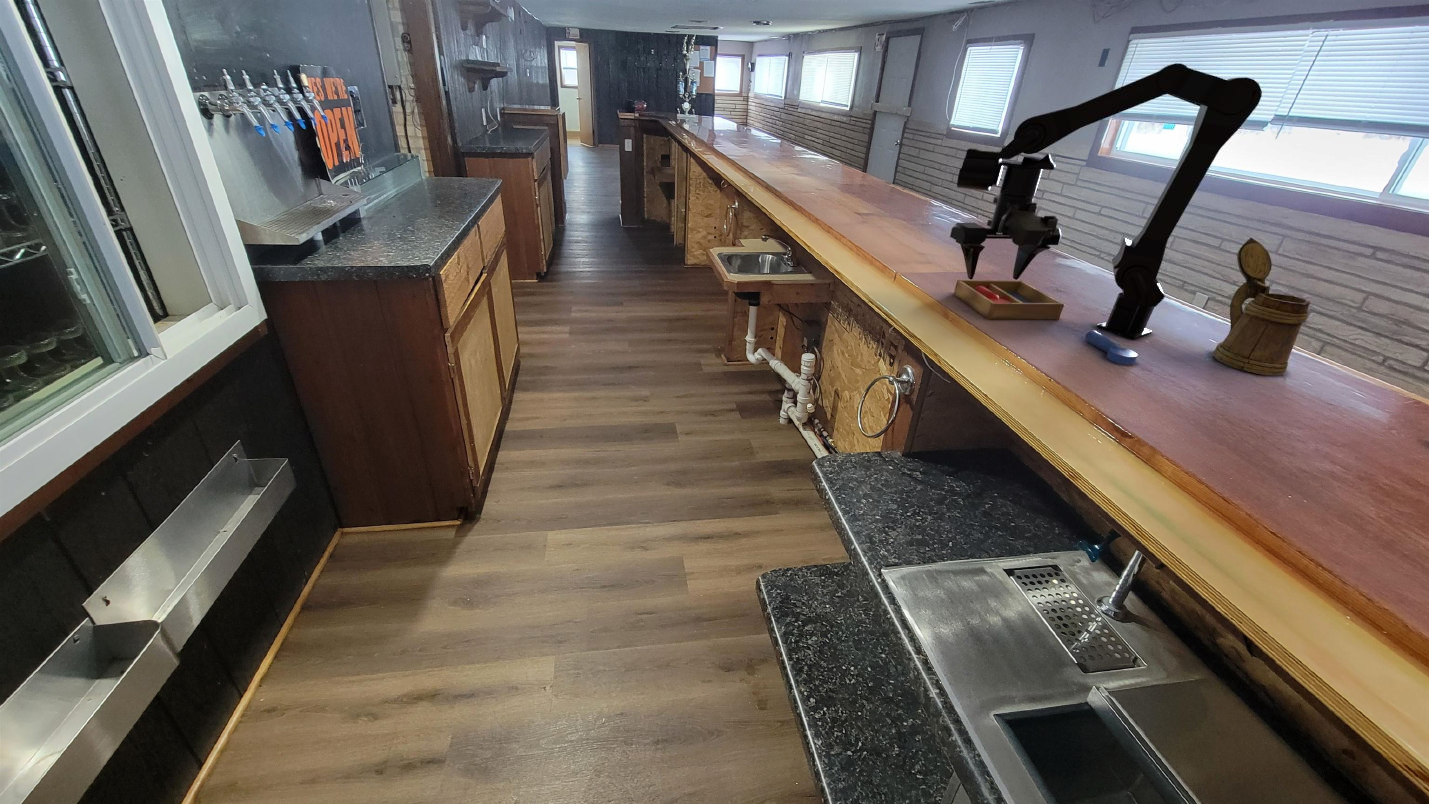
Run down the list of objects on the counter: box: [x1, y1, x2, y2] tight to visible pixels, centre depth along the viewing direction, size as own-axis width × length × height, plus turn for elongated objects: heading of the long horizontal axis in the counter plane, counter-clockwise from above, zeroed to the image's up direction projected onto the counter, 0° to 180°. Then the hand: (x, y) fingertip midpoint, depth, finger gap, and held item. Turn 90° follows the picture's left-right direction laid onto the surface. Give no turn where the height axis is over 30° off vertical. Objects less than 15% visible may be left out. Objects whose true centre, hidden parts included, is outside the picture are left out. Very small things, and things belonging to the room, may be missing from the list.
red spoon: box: [975, 286, 1010, 303], centre depth 109 cm, size 10×4×2 cm, turn 6°
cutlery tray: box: [953, 279, 1065, 320], centre depth 110 cm, size 14×14×3 cm
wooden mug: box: [1212, 237, 1311, 376], centre depth 88 cm, size 9×14×18 cm, turn 10°
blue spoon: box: [1084, 329, 1138, 366], centre depth 92 cm, size 10×4×2 cm, turn 6°
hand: (992, 279), depth 109 cm, fingers open, 9 cm apart
